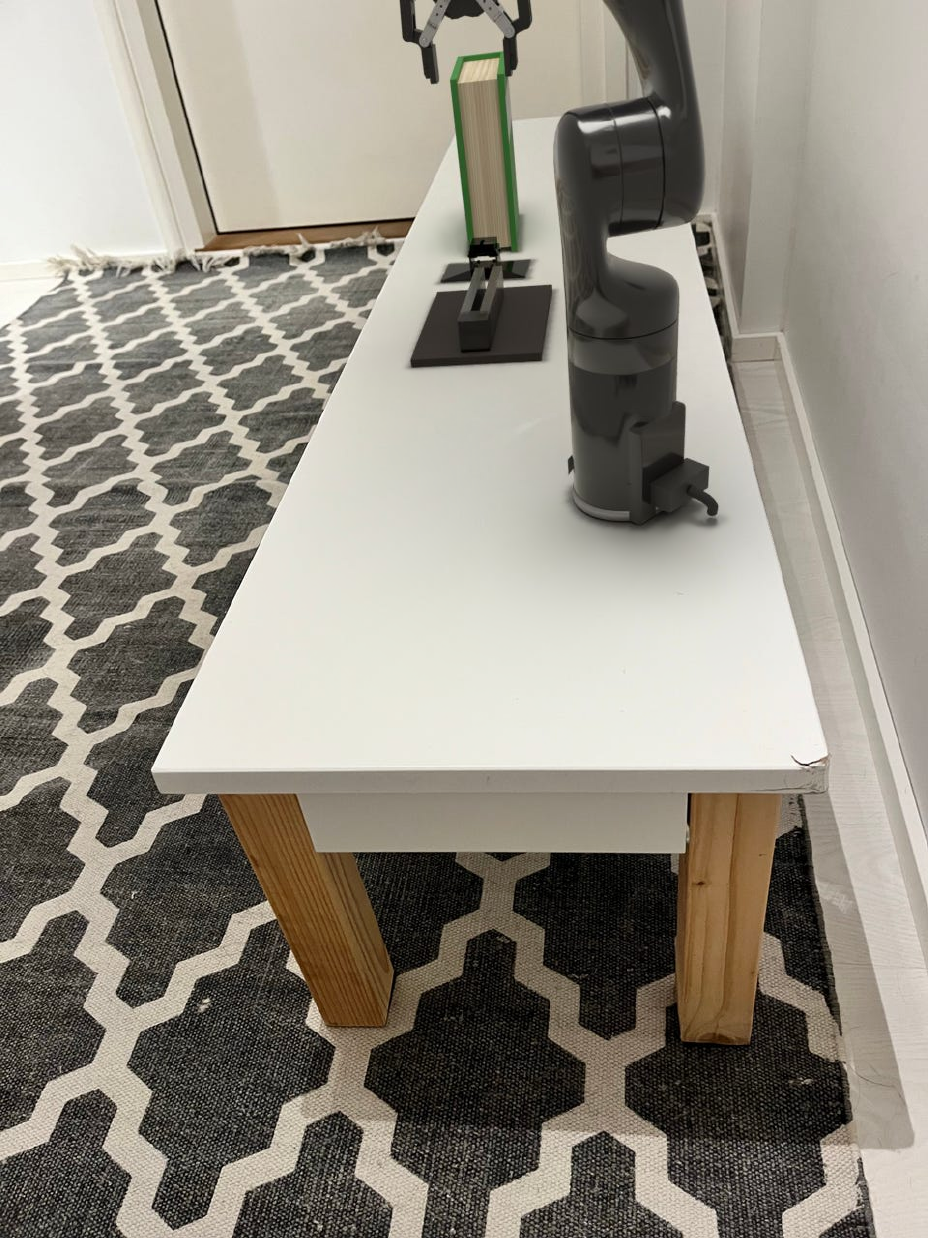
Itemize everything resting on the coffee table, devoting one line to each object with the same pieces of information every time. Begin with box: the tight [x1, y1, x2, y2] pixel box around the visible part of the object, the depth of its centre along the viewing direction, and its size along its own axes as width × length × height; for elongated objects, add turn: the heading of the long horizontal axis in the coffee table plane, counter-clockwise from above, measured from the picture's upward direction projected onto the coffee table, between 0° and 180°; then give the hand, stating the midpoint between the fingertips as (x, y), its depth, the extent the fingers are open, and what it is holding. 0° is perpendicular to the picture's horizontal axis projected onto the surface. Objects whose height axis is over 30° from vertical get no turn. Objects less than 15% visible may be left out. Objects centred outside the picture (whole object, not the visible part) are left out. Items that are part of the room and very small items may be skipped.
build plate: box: [440, 236, 532, 284], centre depth 139 cm, size 12×7×5 cm, turn 80°
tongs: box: [458, 266, 505, 353], centre depth 122 cm, size 18×4×4 cm, turn 173°
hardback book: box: [449, 50, 520, 253], centre depth 146 cm, size 18×7×24 cm, turn 177°
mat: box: [409, 283, 553, 368], centre depth 125 cm, size 22×16×1 cm
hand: (472, 78), depth 109 cm, fingers open, 8 cm apart
